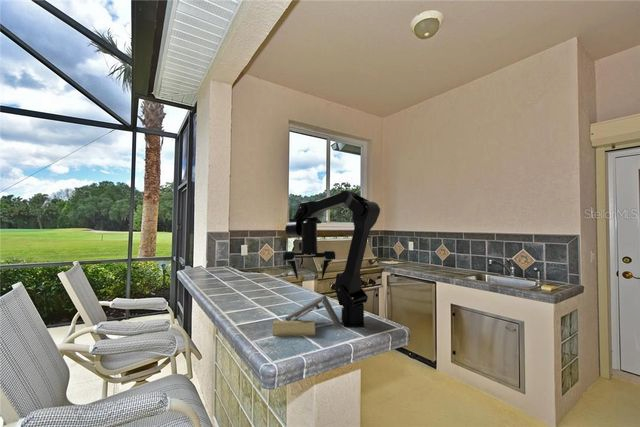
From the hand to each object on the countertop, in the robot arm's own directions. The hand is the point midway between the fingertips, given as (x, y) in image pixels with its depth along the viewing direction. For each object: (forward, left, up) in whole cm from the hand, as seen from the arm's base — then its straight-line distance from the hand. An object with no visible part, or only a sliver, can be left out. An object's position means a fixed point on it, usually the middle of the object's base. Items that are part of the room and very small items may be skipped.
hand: (309, 278), depth 103 cm
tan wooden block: (+4, +21, -12) cm, 24 cm away
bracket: (-1, +14, -12) cm, 19 cm away
